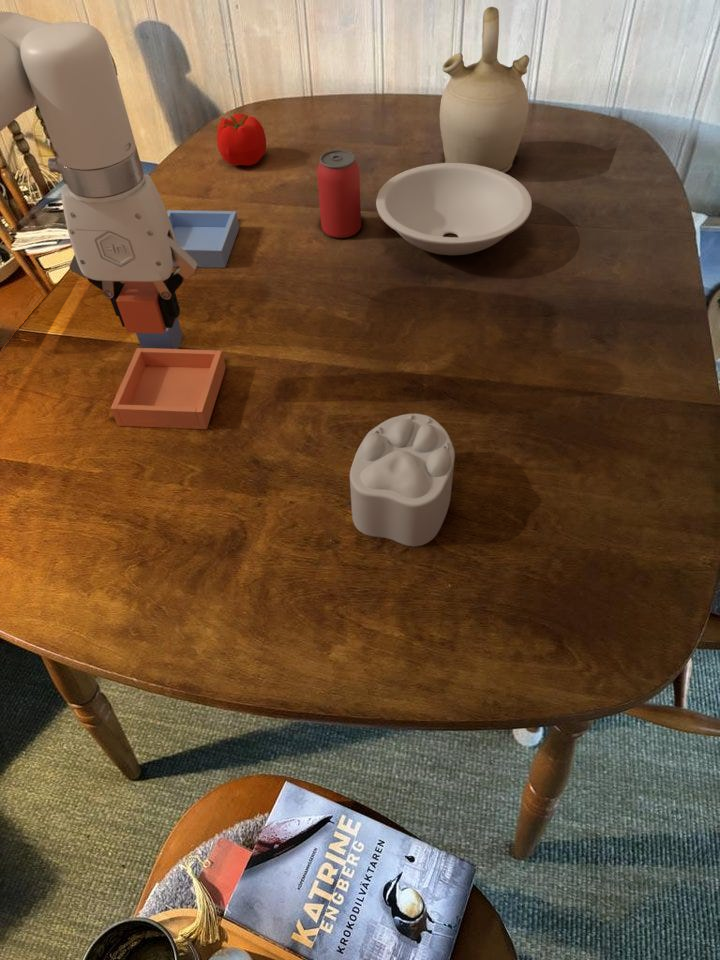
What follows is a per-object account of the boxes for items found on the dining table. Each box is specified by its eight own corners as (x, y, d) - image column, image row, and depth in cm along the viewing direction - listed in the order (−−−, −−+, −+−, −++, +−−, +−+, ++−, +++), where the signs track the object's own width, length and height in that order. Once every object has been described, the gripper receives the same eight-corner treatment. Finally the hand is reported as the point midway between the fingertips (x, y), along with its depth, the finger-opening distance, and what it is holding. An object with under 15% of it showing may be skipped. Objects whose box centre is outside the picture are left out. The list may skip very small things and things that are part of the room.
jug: (425, 176, 129) (431, 19, 110) (451, 139, 138) (461, -13, 119) (508, 190, 125) (530, 30, 106) (529, 150, 134) (553, -4, 115)
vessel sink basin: (538, 211, 121) (544, 173, 116) (509, 293, 106) (515, 253, 101) (401, 191, 126) (401, 154, 121) (356, 266, 112) (354, 228, 107)
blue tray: (153, 266, 114) (148, 249, 111) (171, 226, 121) (167, 209, 119) (225, 268, 113) (221, 250, 110) (239, 228, 120) (236, 210, 118)
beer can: (350, 215, 122) (347, 144, 113) (368, 233, 118) (366, 161, 109) (315, 225, 120) (309, 154, 111) (331, 244, 116) (326, 172, 107)
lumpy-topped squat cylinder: (342, 528, 79) (338, 478, 73) (379, 446, 87) (378, 394, 81) (433, 552, 77) (437, 502, 70) (462, 465, 85) (468, 413, 78)
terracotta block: (127, 332, 84) (115, 300, 80) (138, 309, 87) (127, 277, 83) (164, 333, 83) (154, 301, 80) (174, 310, 86) (165, 278, 83)
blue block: (143, 356, 100) (134, 330, 96) (152, 335, 102) (144, 309, 99) (175, 357, 99) (167, 330, 96) (183, 336, 102) (175, 310, 99)
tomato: (242, 145, 139) (235, 105, 134) (277, 157, 136) (272, 116, 130) (209, 165, 135) (200, 124, 129) (244, 177, 131) (237, 136, 125)
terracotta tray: (117, 425, 91) (110, 408, 89) (142, 365, 98) (136, 347, 96) (207, 429, 90) (202, 412, 88) (225, 368, 97) (221, 350, 95)
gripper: (6, 188, 69) (71, 338, 83) (176, 190, 68) (213, 342, 82) (35, 152, 74) (92, 299, 88) (195, 152, 73) (227, 302, 87)
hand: (150, 318), depth 85 cm, fingers closed on terracotta block, 4 cm apart
